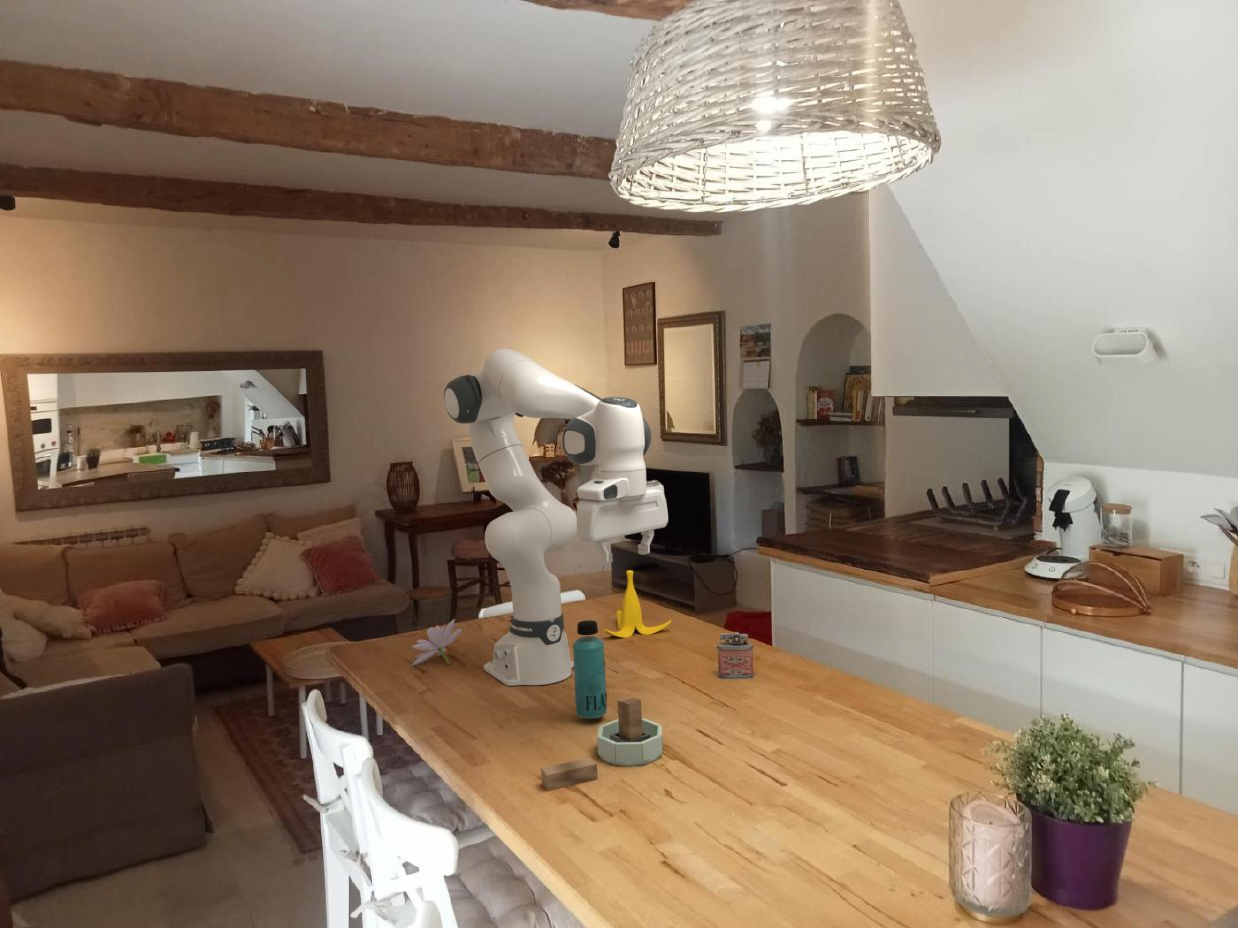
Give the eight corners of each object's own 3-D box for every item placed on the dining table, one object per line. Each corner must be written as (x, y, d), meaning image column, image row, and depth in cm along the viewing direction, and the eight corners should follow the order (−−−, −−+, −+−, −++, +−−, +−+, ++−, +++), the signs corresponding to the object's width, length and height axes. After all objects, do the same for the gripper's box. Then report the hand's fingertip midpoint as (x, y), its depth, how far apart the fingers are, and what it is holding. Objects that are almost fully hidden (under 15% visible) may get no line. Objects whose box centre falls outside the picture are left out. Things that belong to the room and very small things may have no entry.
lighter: (753, 673, 201) (752, 630, 200) (754, 679, 198) (753, 635, 197) (717, 674, 202) (716, 631, 201) (717, 679, 198) (716, 635, 197)
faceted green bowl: (586, 752, 163) (585, 731, 162) (632, 733, 171) (631, 713, 170) (628, 772, 154) (627, 749, 154) (676, 751, 162) (675, 729, 161)
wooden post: (619, 747, 162) (617, 700, 161) (631, 742, 164) (629, 695, 163) (630, 752, 160) (628, 704, 159) (642, 747, 162) (641, 699, 161)
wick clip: (610, 748, 163) (609, 734, 162) (631, 739, 166) (631, 726, 166) (629, 756, 159) (629, 742, 158) (650, 747, 162) (650, 734, 162)
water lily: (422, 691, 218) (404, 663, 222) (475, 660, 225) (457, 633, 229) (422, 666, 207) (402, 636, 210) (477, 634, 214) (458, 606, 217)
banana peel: (619, 621, 248) (617, 562, 247) (674, 632, 236) (671, 570, 234) (578, 636, 236) (575, 574, 234) (633, 648, 223) (630, 583, 222)
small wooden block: (591, 773, 155) (590, 757, 155) (597, 780, 152) (597, 763, 152) (542, 785, 151) (541, 768, 151) (547, 792, 149) (546, 775, 148)
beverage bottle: (584, 728, 174) (579, 628, 172) (570, 717, 180) (565, 620, 178) (613, 721, 177) (609, 623, 175) (599, 710, 183) (594, 615, 181)
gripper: (651, 477, 175) (653, 547, 177) (569, 490, 162) (573, 565, 163) (674, 479, 170) (676, 550, 172) (592, 492, 157) (595, 569, 158)
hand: (625, 558), depth 167 cm, fingers open, 8 cm apart
